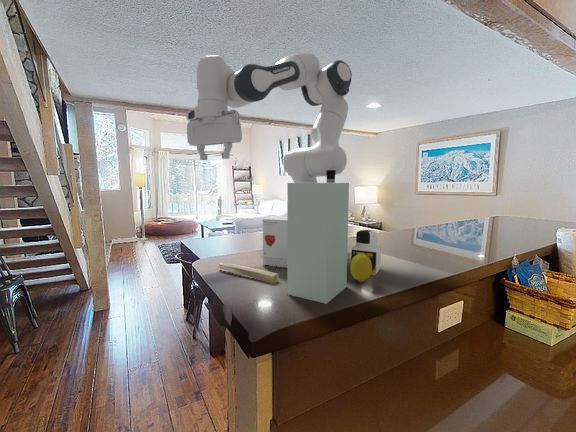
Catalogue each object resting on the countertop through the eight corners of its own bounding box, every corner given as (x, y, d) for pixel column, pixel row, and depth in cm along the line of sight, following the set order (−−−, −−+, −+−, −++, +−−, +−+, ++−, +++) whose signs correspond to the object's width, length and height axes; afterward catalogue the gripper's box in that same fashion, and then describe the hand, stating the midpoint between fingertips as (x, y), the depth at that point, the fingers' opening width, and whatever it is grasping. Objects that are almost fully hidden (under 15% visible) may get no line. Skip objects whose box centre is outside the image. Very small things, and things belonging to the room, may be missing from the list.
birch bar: (224, 269, 89) (224, 262, 88) (278, 282, 78) (278, 273, 77) (219, 271, 87) (218, 263, 87) (272, 285, 76) (272, 276, 75)
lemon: (345, 280, 78) (346, 251, 77) (363, 278, 80) (364, 249, 79) (357, 287, 73) (358, 256, 72) (375, 284, 75) (377, 254, 74)
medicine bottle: (350, 272, 85) (351, 231, 84) (357, 265, 92) (358, 228, 90) (375, 275, 82) (377, 233, 81) (380, 269, 88) (381, 229, 87)
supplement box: (261, 265, 92) (261, 218, 90) (271, 258, 100) (271, 215, 98) (289, 268, 89) (289, 219, 87) (297, 260, 97) (297, 216, 96)
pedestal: (311, 279, 79) (312, 182, 75) (346, 286, 73) (349, 182, 70) (287, 294, 68) (287, 183, 65) (326, 303, 63) (328, 183, 60)
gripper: (246, 110, 86) (247, 158, 87) (198, 118, 97) (200, 161, 98) (231, 106, 81) (232, 157, 82) (182, 115, 91) (184, 160, 93)
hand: (214, 159), depth 90 cm, fingers open, 8 cm apart
